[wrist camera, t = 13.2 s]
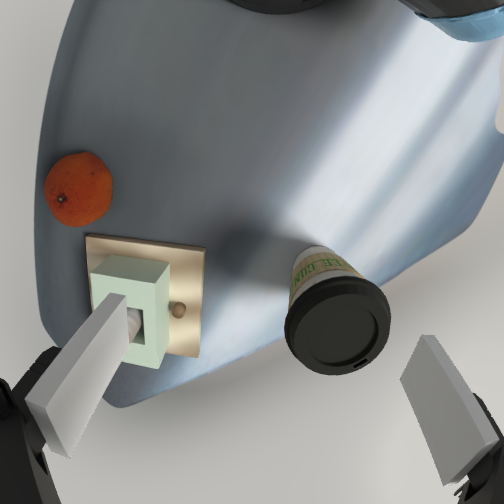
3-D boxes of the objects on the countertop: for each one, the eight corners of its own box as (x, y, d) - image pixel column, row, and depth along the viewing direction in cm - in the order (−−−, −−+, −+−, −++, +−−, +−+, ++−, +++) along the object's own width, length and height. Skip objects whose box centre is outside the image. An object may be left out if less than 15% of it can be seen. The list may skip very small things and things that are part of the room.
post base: (90, 233, 39) (52, 258, 30) (205, 247, 39) (189, 280, 30) (100, 332, 44) (73, 369, 35) (199, 351, 44) (187, 396, 35)
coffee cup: (330, 216, 37) (369, 262, 23) (367, 277, 40) (411, 344, 26) (262, 260, 39) (262, 327, 25) (304, 316, 42) (320, 395, 28)
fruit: (132, 204, 37) (103, 220, 30) (79, 226, 38) (47, 244, 31) (110, 138, 35) (76, 140, 27) (58, 166, 36) (21, 174, 28)
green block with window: (169, 342, 42) (158, 369, 37) (117, 331, 42) (101, 356, 36) (169, 262, 38) (155, 283, 32) (111, 254, 38) (90, 272, 32)
